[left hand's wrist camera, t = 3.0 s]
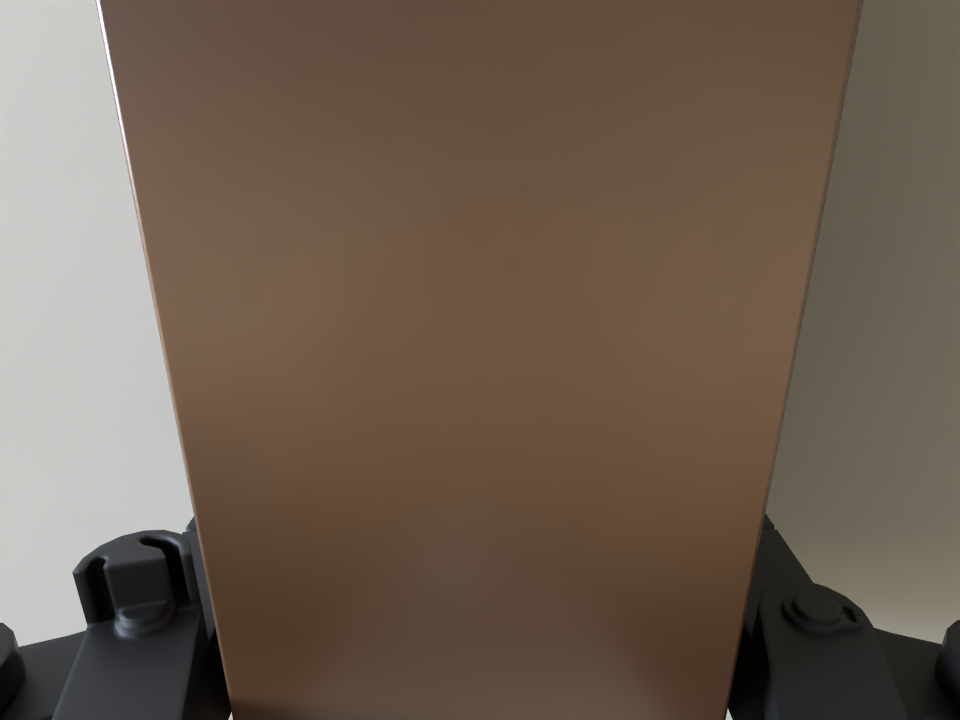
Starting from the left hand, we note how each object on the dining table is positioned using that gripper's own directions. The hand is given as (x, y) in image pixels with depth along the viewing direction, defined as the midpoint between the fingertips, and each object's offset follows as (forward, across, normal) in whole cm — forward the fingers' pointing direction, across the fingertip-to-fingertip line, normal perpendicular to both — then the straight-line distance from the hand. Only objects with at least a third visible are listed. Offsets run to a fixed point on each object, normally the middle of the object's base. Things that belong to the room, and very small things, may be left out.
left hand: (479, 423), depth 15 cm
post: (+1, 0, -31) cm, 31 cm away
